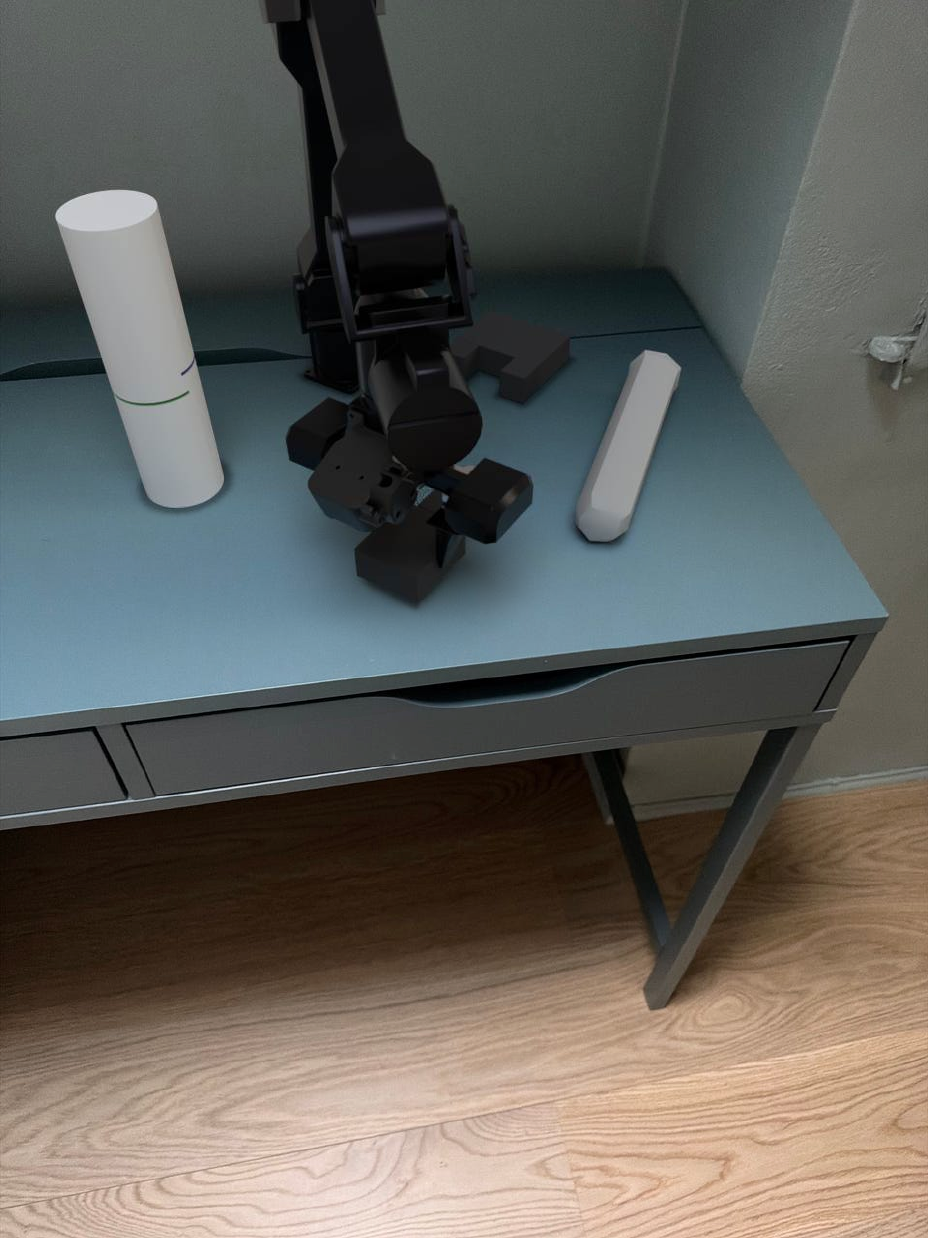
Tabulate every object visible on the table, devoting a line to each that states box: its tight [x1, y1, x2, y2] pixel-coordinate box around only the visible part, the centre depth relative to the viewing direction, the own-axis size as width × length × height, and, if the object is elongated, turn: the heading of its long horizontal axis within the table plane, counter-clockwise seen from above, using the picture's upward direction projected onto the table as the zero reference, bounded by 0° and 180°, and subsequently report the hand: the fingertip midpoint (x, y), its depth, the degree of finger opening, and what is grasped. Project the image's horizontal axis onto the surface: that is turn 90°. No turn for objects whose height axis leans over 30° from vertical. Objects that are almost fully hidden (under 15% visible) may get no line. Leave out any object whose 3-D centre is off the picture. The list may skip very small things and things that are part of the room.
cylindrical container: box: [54, 189, 225, 509], centre depth 74 cm, size 7×7×25 cm
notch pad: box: [449, 310, 572, 405], centre depth 96 cm, size 10×10×3 cm
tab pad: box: [353, 489, 466, 605], centre depth 73 cm, size 6×10×3 cm, turn 147°
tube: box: [574, 349, 682, 542], centre depth 84 cm, size 5×5×25 cm
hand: (410, 550), depth 73 cm, fingers closed on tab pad, 6 cm apart
